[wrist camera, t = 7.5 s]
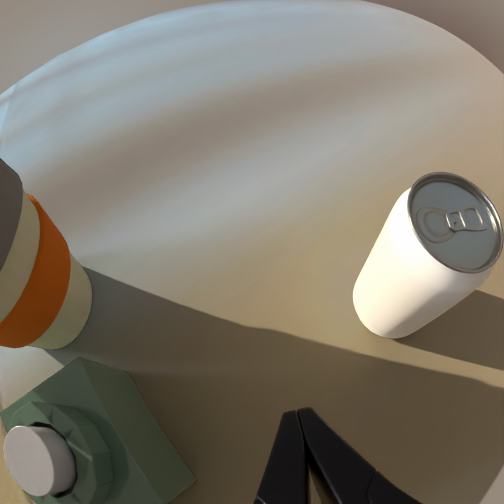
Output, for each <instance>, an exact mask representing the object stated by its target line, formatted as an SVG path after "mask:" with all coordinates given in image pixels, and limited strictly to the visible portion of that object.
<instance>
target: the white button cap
mask: <svg viewBox="0 0 504 504" xmlns="http://www.w3.org/2000/svg"><path fill="white" fill-rule="evenodd" d="M4 457H5V462H6V465H7V468H8V470H9V472H10V474H11V476H12V478H13V479H14V481H15V482H16V483H17V485H18V486H19V487H20V488H21V489H23V490H24V491H25V492H27V493H28V494H30V495H33V496H37V497H43V496H47V495H52V494H56V493H60V492H64V491H67V490H68V489H70V488H71V486H72V485H73V483H74V481H75V478H76V462H75V458H74V455H73V453H72V451H71V448H70V447H69V445H68V444H67V442H66V441H65V440H64V438H63V437H62V436H61V435H60V434H58V433H57V432H56V431H54V430H52V429H50V428H47V427H32V426H16V427H14V428H12V429H11V430H10V431H9V432H8V434H7V436H6V438H5V442H4Z"/></svg>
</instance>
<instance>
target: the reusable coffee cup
mask: <svg viewBox="0 0 504 504" xmlns="http://www.w3.org/2000/svg"><path fill="white" fill-rule="evenodd" d="M91 304H92V288H91V282H90V280H89V277H88V275H87V273H86V272H85V270H84V269H83V268H82V267H81V265H80V264H79V263H78V262H77V261H76V259H75V258H74V257H73V256H72V254H71V253H70V252H69V249H68V245H67V242H66V241H65V239H64V237H63V236H62V234H61V233H60V231H59V230H58V229H57V227H56V226H55V225H54V223H53V222H52V221H51V219H50V218H49V216H48V215H47V214H46V212H45V211H44V209H43V208H42V207H41V205H40V204H39V202H38V201H37V200H36V199H35V198H34V197H33V196H31V195H29V194H26V193H25V192H24V190H23V188H22V182H21V180H20V177H19V175H18V174H17V173H16V172H15V171H14V170H13V169H12V168H11V167H9V166H8V165H7V164H6V163H5V162H4V161H3V160H2V159H1V158H0V346H4V347H10V348H20V347H24V346H32V347H38V348H44V349H50V350H53V349H59V348H62V347H64V346H66V345H68V344H69V343H71V342H72V341H73V340H74V339H75V338H76V337H77V336H78V335H79V333H80V332H81V331H82V329H83V328H84V326H85V324H86V321H87V319H88V316H89V313H90V310H91Z"/></svg>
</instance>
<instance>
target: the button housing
mask: <svg viewBox="0 0 504 504" xmlns="http://www.w3.org/2000/svg"><path fill="white" fill-rule="evenodd" d="M0 416H1V419H2V422H3V424H4V427H5V430H6V432H7V434H8V432H9V431H10V430H11V429H12V428H14V427H16V426H32V427H47V428H50V429H52V430H54V431H56V432H57V433H58V434H60V435H61V436H62V437H63V438H64V440H65V441H66V442H67V444H68V445H69V447H70V448H71V451H72V453H73V455H74V458H75V462H76V478H75V481H74V483H73V485H72V486H71V488H70V489H68V490H67V491H64V492H60V493H56V494H52V495H47V496H43V497H37V496H33V495H30V494H28V493H27V492H25V491H24V490H23V489H22V490H23V491H24V492H25V493H26V494H27V495H28V496H29V497H30V498H31V499H32V500H33V501H34V502H35V503H36V504H168V503H169V502H170V501H172V500H173V499H174V498H175V497H177V496H178V495H179V494H181V493H182V492H183V491H184V490H186V489H187V488H188V487H189V486H191V485H192V484H193V483H194V482H196V481H197V479H196V477H195V476H194V475H193V473H192V472H191V471H190V469H189V468H188V466H187V465H186V464H185V462H184V461H183V459H182V458H181V457H180V455H179V454H178V452H177V451H176V449H175V448H174V447H173V445H172V444H171V442H170V441H169V439H168V438H167V436H166V435H165V433H164V431H163V430H162V428H161V427H160V425H159V424H158V422H157V421H156V419H155V417H154V416H153V414H152V412H151V411H150V409H149V408H148V406H147V404H146V403H145V401H144V399H143V397H142V396H141V394H140V392H139V391H138V389H137V387H136V385H135V384H134V382H133V380H132V378H131V376H130V374H129V373H128V372H127V371H123V370H120V369H117V368H113V367H110V366H106V365H103V364H100V363H97V362H94V361H90V360H87V359H84V358H81V357H78V358H77V359H75V360H74V361H72V362H71V363H70V364H68V365H67V366H65V367H64V368H62V369H61V370H60V371H58V372H57V373H55V374H54V375H52V376H51V377H50V378H48V379H47V380H45V381H44V382H42V383H41V384H40V385H38V386H37V387H35V388H34V389H33V390H31V391H30V392H28V393H27V394H25V395H24V396H23V397H21V398H20V399H18V400H17V401H16V402H14V403H13V404H11V405H10V406H9V407H7V408H6V409H4V410H3V411H2V412H0ZM7 434H6V435H7Z"/></svg>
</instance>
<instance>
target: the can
mask: <svg viewBox="0 0 504 504" xmlns="http://www.w3.org/2000/svg"><path fill="white" fill-rule="evenodd" d="M503 240H504V237H503V228H502V223H501V220H500V217H499V215H498V213H497V211H496V209H495V207H494V205H493V204H492V202H491V201H490V199H489V198H488V197H487V196H486V195H485V194H484V192H483V191H481V190H480V189H479V188H478V187H477V186H476V185H474V184H473V183H472V182H470V181H468V180H467V179H465V178H463V177H461V176H458V175H455V174H452V173H447V172H434V173H429V174H426V175H424V176H422V177H421V178H419V179H418V180H417V181H416V182H415V183H414V184H413V186H412V187H411V188H410V189H408V190H407V191H405V192H404V193H403V194H402V195H401V196H400V197H399V199H398V200H397V202H396V203H395V205H394V207H393V209H392V211H391V213H390V215H389V217H388V219H387V221H386V223H385V225H384V227H383V229H382V231H381V233H380V235H379V237H378V239H377V241H376V243H375V245H374V247H373V249H372V251H371V253H370V255H369V257H368V259H367V261H366V263H365V265H364V267H363V269H362V270H361V272H360V274H359V276H358V278H357V281H356V283H355V287H354V291H353V302H354V306H355V309H356V312H357V314H358V316H359V318H360V320H361V321H362V323H363V324H364V325H365V326H366V327H367V328H368V329H369V330H370V331H372V332H373V333H375V334H377V335H379V336H382V337H385V338H402V337H405V336H408V335H410V334H412V333H413V332H415V331H417V330H419V329H420V328H422V327H423V326H425V325H426V324H428V323H430V322H431V321H433V320H434V319H436V318H437V317H439V316H440V315H442V314H443V313H444V312H446V311H447V310H449V309H450V308H452V307H453V306H455V305H456V304H457V303H459V302H460V301H461V300H463V299H464V298H466V297H467V296H468V295H469V294H471V293H472V292H473V291H475V290H476V289H477V288H478V287H479V286H480V285H482V283H483V282H484V281H485V280H486V279H487V277H488V276H489V274H490V272H491V270H492V268H493V265H494V264H495V262H496V261H497V260H498V258H499V256H500V254H501V251H502V248H503Z"/></svg>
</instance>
